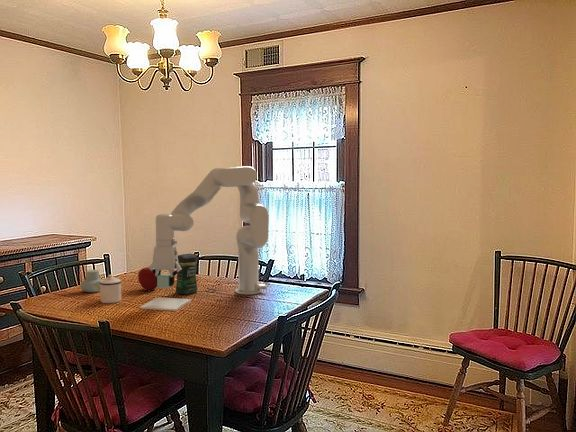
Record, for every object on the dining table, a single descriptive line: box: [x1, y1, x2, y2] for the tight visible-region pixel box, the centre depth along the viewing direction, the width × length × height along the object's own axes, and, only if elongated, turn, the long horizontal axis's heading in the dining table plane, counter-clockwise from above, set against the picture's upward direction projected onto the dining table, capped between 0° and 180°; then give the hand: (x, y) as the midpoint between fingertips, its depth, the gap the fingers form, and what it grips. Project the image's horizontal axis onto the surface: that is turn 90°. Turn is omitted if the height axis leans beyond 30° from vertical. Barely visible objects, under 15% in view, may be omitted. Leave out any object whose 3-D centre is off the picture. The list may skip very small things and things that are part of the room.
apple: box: [137, 266, 157, 292], centre depth 243 cm, size 11×11×12 cm
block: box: [156, 273, 173, 289], centre depth 214 cm, size 5×5×5 cm
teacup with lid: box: [99, 274, 122, 304], centre depth 222 cm, size 12×9×12 cm
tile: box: [139, 297, 192, 312], centre depth 216 cm, size 16×16×1 cm
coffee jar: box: [175, 253, 198, 295], centre depth 236 cm, size 10×8×19 cm
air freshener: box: [79, 269, 102, 294], centre depth 239 cm, size 11×8×10 cm
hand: (165, 284), depth 215 cm, fingers closed on block, 5 cm apart
